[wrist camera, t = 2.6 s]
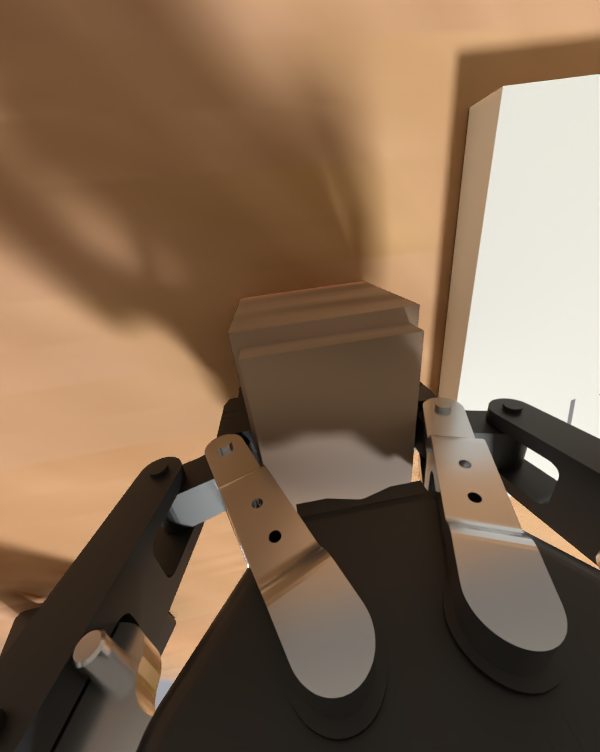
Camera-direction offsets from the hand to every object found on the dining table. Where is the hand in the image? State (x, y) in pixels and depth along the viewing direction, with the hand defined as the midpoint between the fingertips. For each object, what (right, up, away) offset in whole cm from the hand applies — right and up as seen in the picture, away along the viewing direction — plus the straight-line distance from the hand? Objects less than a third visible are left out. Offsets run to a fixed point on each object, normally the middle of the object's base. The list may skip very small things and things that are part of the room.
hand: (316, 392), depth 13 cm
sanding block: (0, +1, +1) cm, 1 cm away
